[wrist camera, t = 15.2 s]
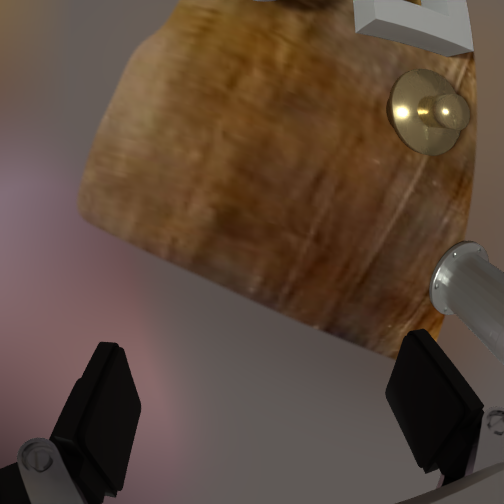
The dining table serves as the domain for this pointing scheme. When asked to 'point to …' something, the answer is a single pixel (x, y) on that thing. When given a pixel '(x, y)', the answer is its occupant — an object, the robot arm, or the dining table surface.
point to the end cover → (426, 112)
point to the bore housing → (417, 23)
